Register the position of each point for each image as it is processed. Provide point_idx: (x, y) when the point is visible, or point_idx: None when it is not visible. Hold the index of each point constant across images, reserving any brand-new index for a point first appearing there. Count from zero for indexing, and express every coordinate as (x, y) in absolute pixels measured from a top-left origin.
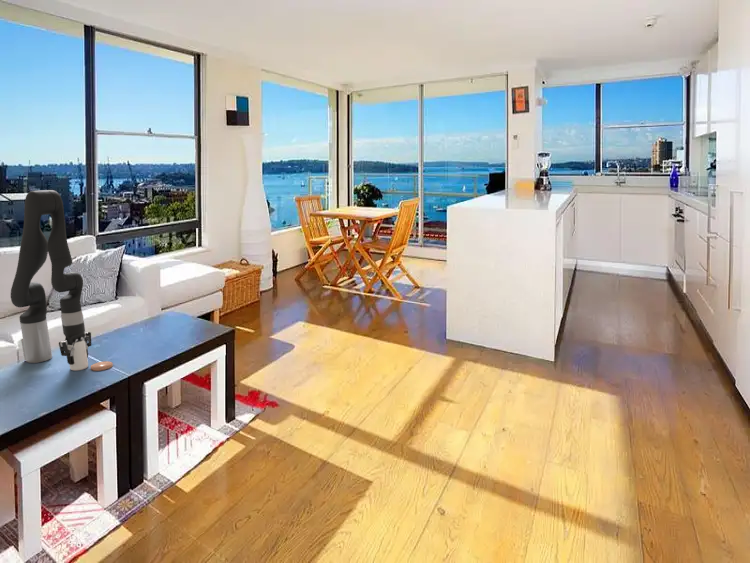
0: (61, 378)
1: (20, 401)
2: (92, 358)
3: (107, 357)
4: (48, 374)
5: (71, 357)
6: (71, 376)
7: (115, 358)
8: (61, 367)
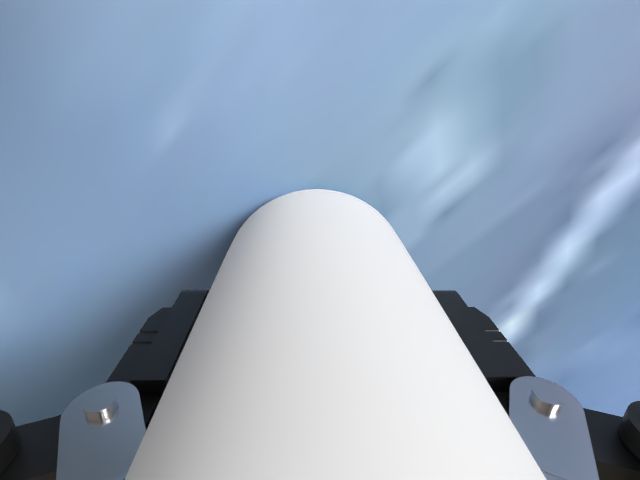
0: (46, 303)
1: None
2: (596, 195)
3: (616, 319)
4: (36, 68)
5: None
6: (125, 348)
7: (584, 394)
8: (274, 40)
